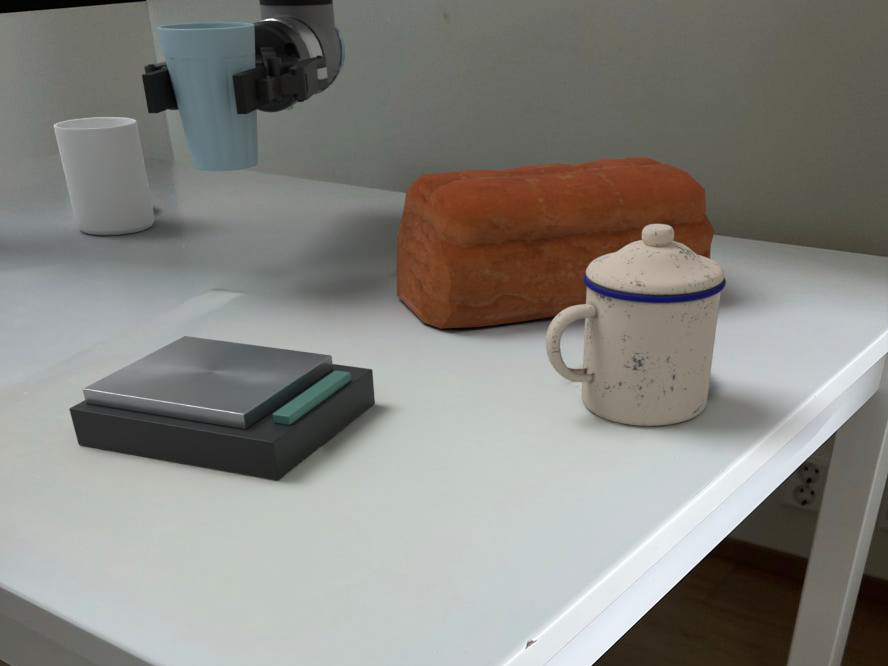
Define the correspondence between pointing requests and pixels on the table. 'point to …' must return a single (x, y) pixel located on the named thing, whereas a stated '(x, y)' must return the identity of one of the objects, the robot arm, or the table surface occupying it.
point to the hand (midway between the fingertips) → (194, 94)
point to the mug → (105, 174)
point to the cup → (212, 91)
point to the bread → (532, 235)
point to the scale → (223, 406)
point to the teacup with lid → (645, 331)
